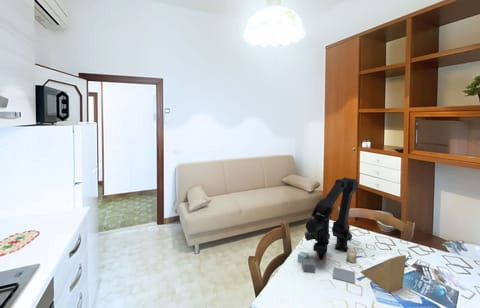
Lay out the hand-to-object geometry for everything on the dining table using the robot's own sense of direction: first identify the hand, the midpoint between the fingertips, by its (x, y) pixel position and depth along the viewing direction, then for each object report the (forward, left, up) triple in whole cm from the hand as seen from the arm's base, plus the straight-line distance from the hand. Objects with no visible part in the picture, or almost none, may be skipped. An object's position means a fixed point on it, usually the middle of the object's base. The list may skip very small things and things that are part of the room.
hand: (321, 257), depth 127 cm
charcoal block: (+12, -4, -1) cm, 13 cm away
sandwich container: (+6, +26, -1) cm, 26 cm away
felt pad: (+10, +11, -1) cm, 15 cm away
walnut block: (0, 0, -1) cm, 1 cm away
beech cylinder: (-5, +14, -1) cm, 15 cm away
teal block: (+6, -8, -1) cm, 10 cm away
